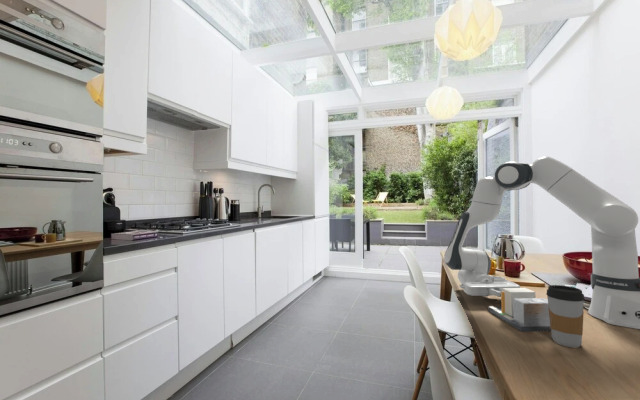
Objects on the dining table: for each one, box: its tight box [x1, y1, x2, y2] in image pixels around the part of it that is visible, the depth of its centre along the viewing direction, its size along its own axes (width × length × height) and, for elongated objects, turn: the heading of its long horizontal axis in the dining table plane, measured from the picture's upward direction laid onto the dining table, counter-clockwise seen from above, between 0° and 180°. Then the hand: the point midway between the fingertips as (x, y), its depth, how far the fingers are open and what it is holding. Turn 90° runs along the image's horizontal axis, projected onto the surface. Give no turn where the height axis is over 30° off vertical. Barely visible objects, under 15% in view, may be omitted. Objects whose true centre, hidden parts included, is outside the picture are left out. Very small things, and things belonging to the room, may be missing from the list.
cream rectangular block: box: [500, 287, 536, 317], centre depth 101 cm, size 6×10×8 cm, turn 89°
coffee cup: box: [545, 284, 586, 348], centre depth 83 cm, size 8×8×15 cm
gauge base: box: [487, 297, 551, 333], centre depth 100 cm, size 18×12×8 cm, turn 179°
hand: (502, 294), depth 109 cm, fingers closed
